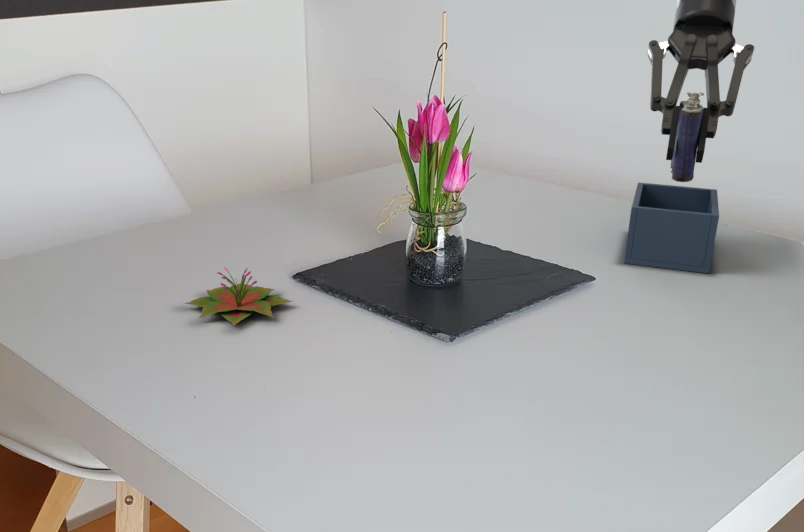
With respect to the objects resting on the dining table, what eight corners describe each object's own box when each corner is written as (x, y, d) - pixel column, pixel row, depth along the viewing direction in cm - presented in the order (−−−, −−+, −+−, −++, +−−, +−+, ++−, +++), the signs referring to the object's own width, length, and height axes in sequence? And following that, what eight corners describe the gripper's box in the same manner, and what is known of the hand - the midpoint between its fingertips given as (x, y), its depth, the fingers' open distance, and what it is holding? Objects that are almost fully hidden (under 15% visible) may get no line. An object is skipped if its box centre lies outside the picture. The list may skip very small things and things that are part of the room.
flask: (669, 165, 115) (682, 85, 111) (692, 166, 115) (705, 87, 110) (670, 181, 107) (684, 96, 103) (694, 183, 107) (709, 98, 102)
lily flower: (311, 306, 98) (311, 270, 96) (232, 338, 89) (230, 299, 88) (244, 281, 105) (242, 246, 103) (165, 308, 97) (161, 271, 95)
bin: (707, 242, 120) (717, 189, 117) (708, 273, 108) (719, 215, 105) (630, 233, 124) (637, 182, 121) (623, 263, 112) (631, 207, 109)
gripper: (646, -12, 113) (620, 133, 106) (775, -9, 108) (758, 144, 100) (642, 26, 120) (618, 165, 112) (764, 30, 115) (747, 177, 107)
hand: (684, 155), depth 106 cm, fingers closed on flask, 3 cm apart
